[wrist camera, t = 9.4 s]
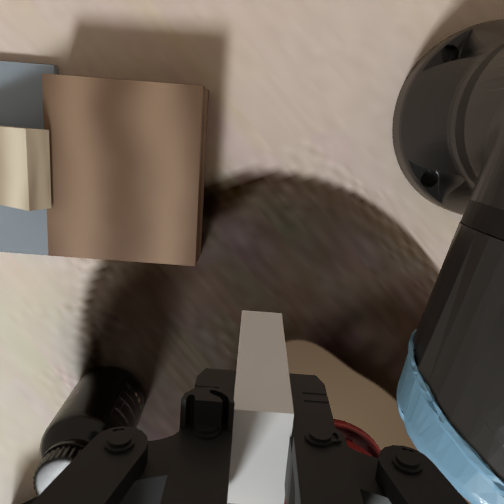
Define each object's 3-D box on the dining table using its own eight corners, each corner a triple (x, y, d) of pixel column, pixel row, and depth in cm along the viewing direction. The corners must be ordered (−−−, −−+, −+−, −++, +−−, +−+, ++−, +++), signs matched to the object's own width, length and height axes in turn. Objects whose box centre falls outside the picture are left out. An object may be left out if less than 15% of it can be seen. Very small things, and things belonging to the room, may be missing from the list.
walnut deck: (208, 90, 39) (203, 85, 35) (200, 253, 42) (195, 266, 38) (63, 79, 39) (41, 73, 35) (67, 244, 42) (48, 255, 38)
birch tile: (49, 129, 36) (25, 128, 34) (51, 208, 37) (29, 210, 35) (-18, 123, 39) (-42, 122, 37) (-13, 195, 41) (-36, 197, 39)
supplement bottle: (91, 433, 47) (37, 532, 35) (66, 373, 45) (1, 457, 34) (156, 417, 46) (123, 512, 35) (133, 356, 45) (90, 434, 33)
